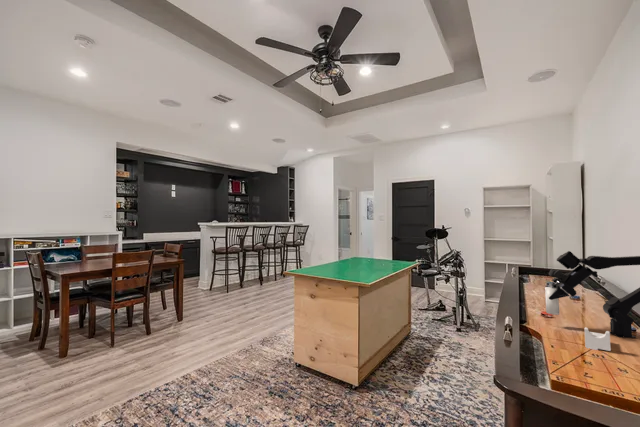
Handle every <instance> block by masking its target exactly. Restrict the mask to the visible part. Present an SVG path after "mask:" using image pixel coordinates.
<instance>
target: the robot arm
mask: <svg viewBox="0 0 640 427" xmlns="http://www.w3.org/2000/svg"><path fill="white" fill-rule="evenodd" d="M556 262H558V263H559V264H560V265H562V266H563V267H565V268H566V269H567V270H569V269H570V270H571V271H570V272H565V273H563V272H564V271H562V270H560V269H557V270H555V269H552V268H550V270H549V272H548V275H549V276H550V277H553V279H551V281H552V282H551V284H554V287H555V288H556V290H555V291H554V293H553V294H552V295H551V296H550V297H549V299H550V300H553V299H557V298H559V299H562V298H565V297H570V296H571V297H572V298H573V297H575V296H576V295H577V291H576V290H575V288H576V287H577V286H578V285H579V286H580V285H582V284H583V282H584V281H585V280H588V278H589V277H591V276H592V277H594V278H595V279H596V278H598V271H597V270H604V269H609V268H613V267H625V266H628V267H629V266H640V255H635V256H633V255H632V256H616V257H615V256H613V257H611V256H601V255H588V256H587V257H586V258H579V257H577V256H576V255H575V254H574V253H573V252H572V251H570V250H568V251H566V252H565V253H563V254H561V255H559V256H558V257H557V258H556ZM583 265H585V266H583ZM592 269H594V270H592ZM638 304H640V287H638V288H636V289H635V290H633V291H632V292H630V293H628V294H627V295H624V296H623V297H621V298H616V297H614V296H612V297H610V299H608V300H606V301H604V304H603V305H602V310H603V311H604V312H605V314H607V315H608V317H609V320H610V322H609V324H610V326H609V327H610V330H608V331H609V332H610V335H614V336H616V337H619V338H627V339H628V338H629V339H630V338H631V339H632V338H634V339H636V338H637V336H635V335H633V328H632V325H633V323H634V321H635V320H634V319H633V318H632V317H631V316H630V315H628V314H629V313H630V312H631V310H632V309H634V307H635V306H636V305H638Z"/></svg>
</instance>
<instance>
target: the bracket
mask: <svg viewBox="0 0 640 427" xmlns="http://www.w3.org/2000/svg"><path fill="white" fill-rule="evenodd" d="M609 331H610V330H606V331H605V333H600V332H593V331H589V328H588V327H584V345H585V346H584V347H586V348H585V349H589V348H590V350H594V351H595V350H596V351H598V350H604V351H607V352H608V351H609V352H611V350H612V347H611V333H610V332H609Z"/></svg>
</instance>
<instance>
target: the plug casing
mask: <svg viewBox="0 0 640 427" xmlns="http://www.w3.org/2000/svg"><path fill="white" fill-rule="evenodd" d="M555 290H556V288H555V287H554V284H552V282H550V283H548V286H545V287H544V293H545V294H544V295H545V313H546V314H549V315H553V316H554V315H557V316H558V315H560V300H559V299H560V298H557V299H553V300H550V299H549V297H550V296H551V295H552V294H553V293H554V291H555Z"/></svg>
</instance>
